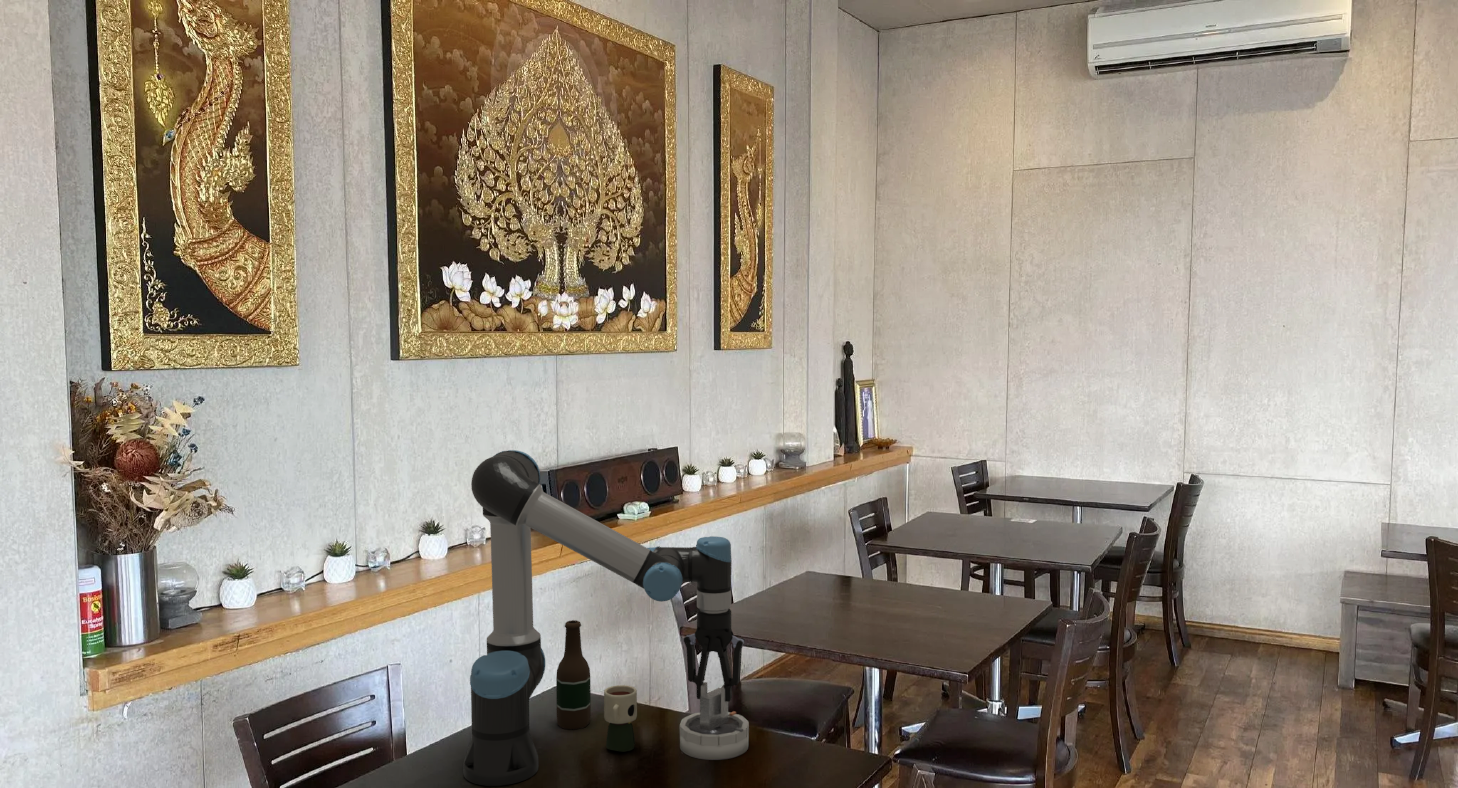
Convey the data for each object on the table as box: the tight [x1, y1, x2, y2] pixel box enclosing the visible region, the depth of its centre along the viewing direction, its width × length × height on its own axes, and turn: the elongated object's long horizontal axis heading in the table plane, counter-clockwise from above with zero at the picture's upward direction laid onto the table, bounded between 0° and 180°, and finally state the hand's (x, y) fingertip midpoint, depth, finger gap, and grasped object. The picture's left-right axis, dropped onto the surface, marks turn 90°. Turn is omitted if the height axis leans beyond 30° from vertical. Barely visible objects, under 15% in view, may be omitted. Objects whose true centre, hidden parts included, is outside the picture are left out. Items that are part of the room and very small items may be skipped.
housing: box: [679, 710, 750, 761], centre depth 226 cm, size 15×15×5 cm
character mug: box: [603, 684, 638, 753], centre depth 224 cm, size 11×7×13 cm, turn 173°
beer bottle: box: [555, 619, 592, 730], centre depth 238 cm, size 8×8×24 cm
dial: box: [689, 687, 739, 735], centre depth 226 cm, size 11×11×8 cm
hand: (714, 714), depth 226 cm, fingers closed on dial, 4 cm apart
